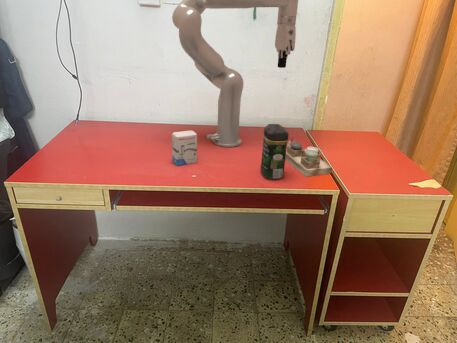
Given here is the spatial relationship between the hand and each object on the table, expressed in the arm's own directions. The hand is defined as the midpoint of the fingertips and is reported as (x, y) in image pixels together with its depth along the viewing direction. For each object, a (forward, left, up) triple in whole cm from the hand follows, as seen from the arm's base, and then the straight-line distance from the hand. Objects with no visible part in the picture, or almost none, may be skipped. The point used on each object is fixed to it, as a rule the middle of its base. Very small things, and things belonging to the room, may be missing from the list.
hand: (281, 67), depth 148 cm
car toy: (+5, -9, -33) cm, 34 cm away
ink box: (-47, -18, -32) cm, 60 cm away
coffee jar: (-19, -36, -32) cm, 52 cm away
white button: (0, -32, -30) cm, 43 cm away
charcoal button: (-4, -26, -30) cm, 40 cm away
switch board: (-2, -32, -32) cm, 45 cm away
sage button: (-4, -37, -28) cm, 47 cm away
